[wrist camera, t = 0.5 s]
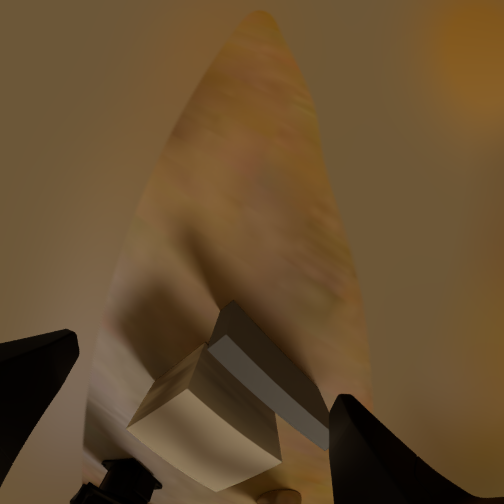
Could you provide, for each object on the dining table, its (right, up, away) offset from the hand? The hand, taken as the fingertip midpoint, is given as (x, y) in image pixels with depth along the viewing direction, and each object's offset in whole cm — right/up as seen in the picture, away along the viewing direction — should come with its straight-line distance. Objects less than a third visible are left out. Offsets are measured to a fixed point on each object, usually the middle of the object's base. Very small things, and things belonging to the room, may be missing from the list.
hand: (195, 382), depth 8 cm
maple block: (-2, -10, +16) cm, 19 cm away
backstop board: (+4, -5, +15) cm, 17 cm away
